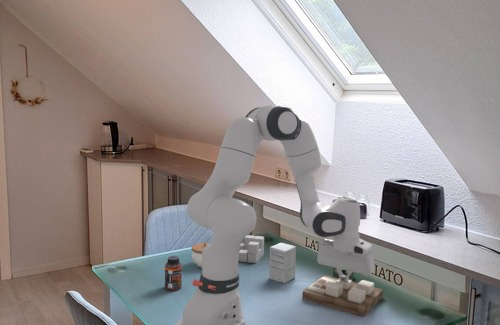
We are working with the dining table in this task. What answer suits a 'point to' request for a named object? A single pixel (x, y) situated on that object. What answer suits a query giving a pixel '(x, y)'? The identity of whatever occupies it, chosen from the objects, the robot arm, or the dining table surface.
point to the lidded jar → (198, 253)
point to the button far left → (345, 284)
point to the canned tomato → (342, 272)
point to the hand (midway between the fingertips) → (343, 280)
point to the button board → (340, 297)
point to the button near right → (356, 295)
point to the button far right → (366, 286)
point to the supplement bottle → (173, 273)
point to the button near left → (334, 289)
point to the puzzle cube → (251, 249)
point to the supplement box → (282, 262)
